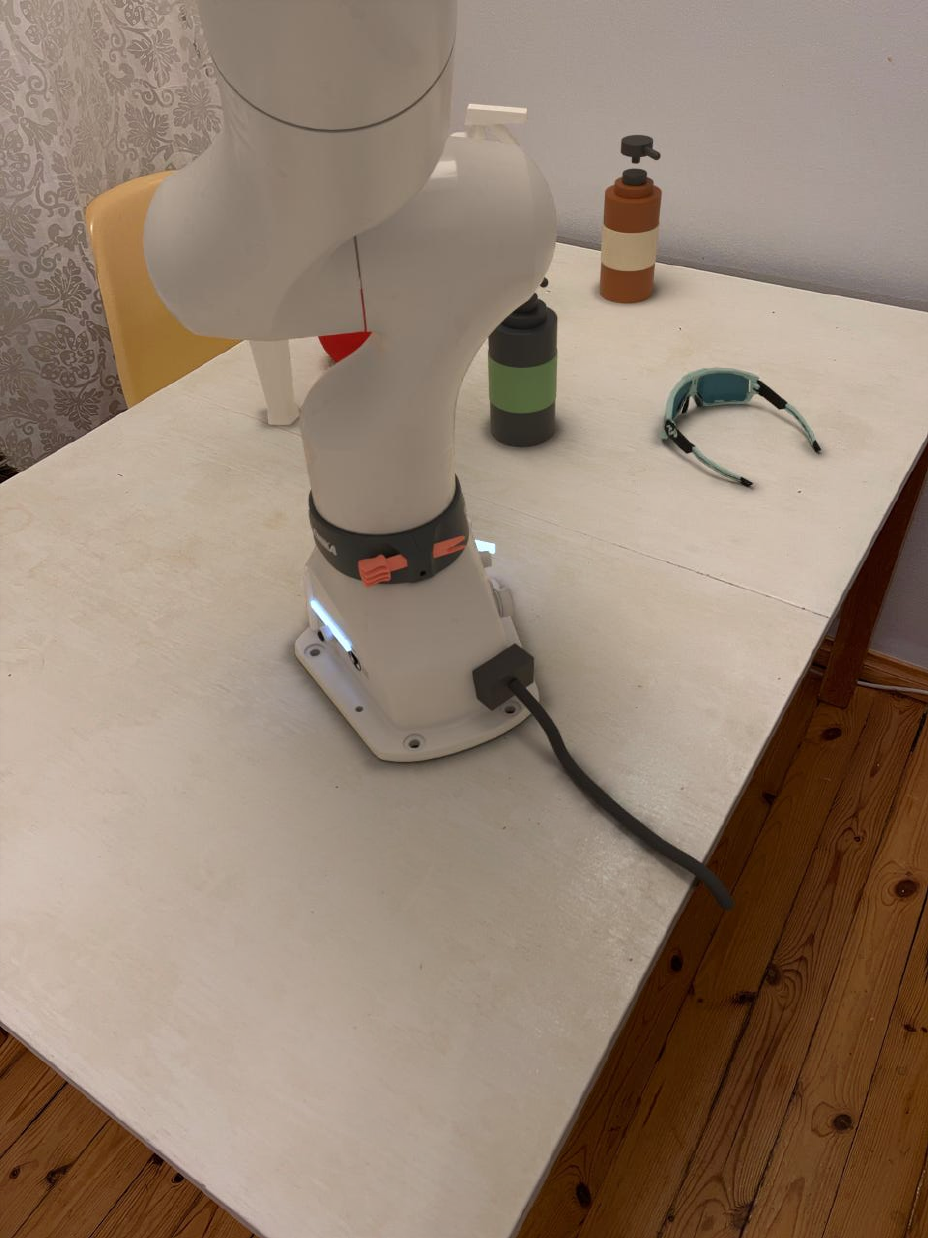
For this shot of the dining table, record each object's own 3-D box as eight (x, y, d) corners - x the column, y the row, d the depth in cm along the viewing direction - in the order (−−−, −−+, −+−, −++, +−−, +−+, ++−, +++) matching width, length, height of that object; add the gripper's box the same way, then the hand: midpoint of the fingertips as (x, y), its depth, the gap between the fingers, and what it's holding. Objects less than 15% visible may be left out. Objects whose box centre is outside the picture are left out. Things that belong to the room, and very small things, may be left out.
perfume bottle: (306, 405, 111) (284, 280, 101) (298, 426, 108) (274, 299, 98) (268, 405, 112) (242, 280, 101) (258, 426, 109) (230, 298, 98)
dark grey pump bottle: (567, 437, 104) (571, 302, 94) (507, 454, 102) (505, 318, 92) (537, 406, 109) (538, 274, 99) (479, 421, 107) (474, 289, 97)
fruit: (313, 377, 116) (299, 298, 109) (333, 341, 122) (322, 264, 116) (387, 381, 115) (379, 301, 108) (404, 344, 121) (397, 266, 114)
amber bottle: (663, 296, 128) (675, 175, 117) (615, 308, 126) (624, 186, 115) (635, 275, 132) (644, 158, 122) (589, 287, 131) (594, 168, 120)
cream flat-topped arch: (439, 302, 129) (426, 97, 112) (529, 305, 127) (530, 97, 110) (430, 325, 124) (415, 115, 107) (523, 329, 123) (523, 115, 105)
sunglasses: (727, 387, 110) (738, 349, 106) (827, 460, 102) (843, 422, 98) (634, 429, 104) (642, 391, 101) (731, 509, 97) (744, 471, 93)
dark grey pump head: (671, 171, 115) (673, 148, 113) (643, 177, 114) (645, 154, 112) (641, 155, 120) (642, 132, 118) (614, 160, 119) (615, 137, 117)
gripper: (149, -153, 75) (192, 49, 84) (389, -157, 69) (406, 61, 78) (194, -163, 79) (230, 31, 88) (424, -167, 73) (436, 42, 82)
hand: (314, 46), depth 83 cm, fingers closed
